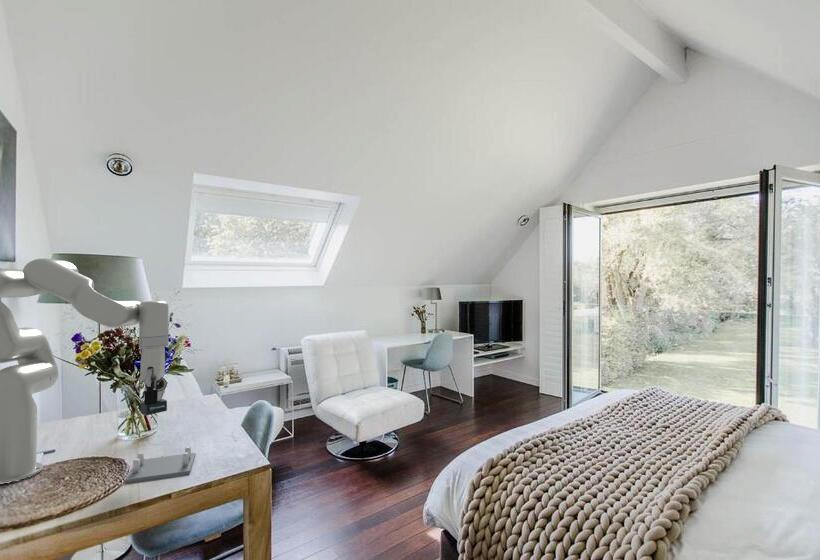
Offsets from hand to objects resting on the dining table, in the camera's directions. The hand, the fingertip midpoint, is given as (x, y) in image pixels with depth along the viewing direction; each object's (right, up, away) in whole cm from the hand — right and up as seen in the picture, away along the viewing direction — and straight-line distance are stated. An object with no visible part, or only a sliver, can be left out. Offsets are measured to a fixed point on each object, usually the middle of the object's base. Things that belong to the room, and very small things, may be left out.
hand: (154, 400), depth 123 cm
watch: (0, -4, 0) cm, 4 cm away
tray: (+3, -21, 0) cm, 21 cm away
